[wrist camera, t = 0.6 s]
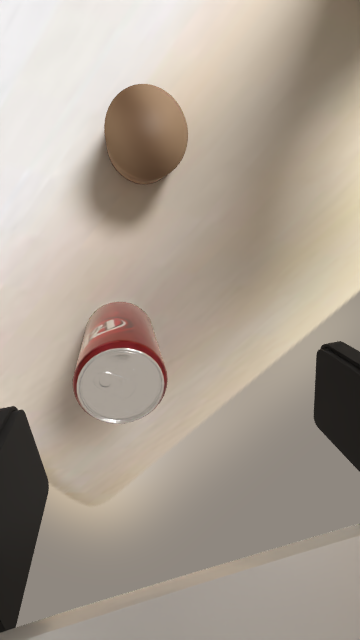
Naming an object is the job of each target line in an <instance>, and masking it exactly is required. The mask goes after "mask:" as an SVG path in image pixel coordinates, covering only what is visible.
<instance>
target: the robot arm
mask: <svg viewBox="0 0 360 640" xmlns="http://www.w3.org/2000/svg"><path fill="white" fill-rule="evenodd" d="M314 420H315V423H316V425H317V427H318V428H319V429H320V430H321V431H322V432H323V433H324V434H325V435H326V436H327V438H328V439H329V440H331V442H332V443H333V444H334V445H335V446H336V447H337V448H338V449H339V450H340V451H341V452H342V453H343V455H344V456H345V457H346V458H347V459H348V460H349V461H350V462H351V463H352V464H353V465H354V466H355V467H356V468H357V469H358V470H359V471H360V352H359V351H358V350H356V349H354V348H352V347H350V346H349V345H347V344H345V343H343V342H341V341H340V342H334V343H328V344H324V345H322V346H321V349H320V350H318V352H317V358H316V380H315V401H314ZM48 489H49V485H48V479H47V476H46V473H45V470H44V467H43V464H42V461H41V458H40V455H39V452H38V449H37V446H36V444H35V441H34V438H33V435H32V432H31V429H30V426H29V423H28V420H27V417H26V414H25V412H24V411H23V410H18V409H17V408H16V407H15V406H12V407H7V408H2V409H0V640H360V524H356V525H353V526H349V527H346V528H342V529H339V530H336V531H332V532H329V533H325V534H322V535H319V536H315V537H312V538H309V539H305V540H302V541H298V542H295V543H291V544H288V545H285V546H281V547H278V548H274V549H271V550H268V551H264V552H261V553H258V554H254V555H251V556H248V557H244V558H241V559H237V560H234V561H231V562H227V563H224V564H221V565H218V566H214V567H211V568H208V569H204V570H201V571H197V572H194V573H191V574H188V575H184V576H181V577H177V578H174V579H171V580H168V581H164V582H161V583H158V584H155V585H151V586H148V587H145V588H141V589H138V590H135V591H131V592H128V593H125V594H121V595H118V596H115V597H111V598H109V599H105V600H102V601H99V602H95V603H92V604H88V605H85V606H82V607H78V608H75V609H72V610H69V611H66V612H63V613H60V614H57V615H54V616H51V617H48V618H44V619H41V620H38V621H35V622H32V623H29V624H26V625H23V626H20V627H17V628H15V627H16V623H17V619H18V615H19V611H20V607H21V603H22V599H23V595H24V590H25V586H26V582H27V578H28V574H29V570H30V565H31V561H32V557H33V553H34V549H35V545H36V541H37V536H38V532H39V528H40V524H41V520H42V516H43V512H44V507H45V503H46V499H47V495H48Z"/></svg>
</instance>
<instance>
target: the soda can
mask: <svg viewBox="0 0 360 640" xmlns="http://www.w3.org/2000/svg"><path fill="white" fill-rule="evenodd" d="M166 388H167V371H166V368H165V365H164V361H163V358H162V355H161V352H160V349H159V346H158V342H157V339H156V336H155V333H154V330H153V326H152V324H151V321H150V319H149V317H148V316H147V314H146V313H145V312H144V311H143V310H142V309H140V308H139V307H138V306H135V305H133V304H131V303H127V302H113V303H109V304H106V305H104V306H102V307H100V308H99V309H98V310H96V311H95V312H94V313H93V315H92V316H91V317H90V319H89V321H88V323H87V326H86V330H85V334H84V338H83V342H82V345H81V349H80V353H79V357H78V361H77V365H76V368H75V372H74V377H73V391H74V395H75V397H76V399H77V401H78V403H79V405H80V406H81V407H82V408H83V410H84V411H85V412H87V413H88V414H89V415H90V416H92V417H94V418H96V419H98V420H101V421H104V422H107V423H114V424H121V423H128V422H133V421H135V420H138V419H140V418H142V417H144V416H146V415H147V414H149V413H150V412H151V411H153V410H154V409H155V408H156V407H157V405H158V404H159V403H160V402H161V400H162V398H163V396H164V394H165V391H166Z"/></svg>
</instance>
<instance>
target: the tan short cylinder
mask: <svg viewBox="0 0 360 640" xmlns="http://www.w3.org/2000/svg"><path fill="white" fill-rule="evenodd" d="M104 128H105V139H106V145H107V151H108V155H109V158H110V160H111V162H112V164H113V166H114V167H115V169H116V170H117V171H118V172H119V173H120V174H121V175H122V176H123V177H125V178H126V179H128V180H130V181H132V182H134V183H139V184H150V183H154V182H156V181H158V180H160V179H162V178H163V177H165V176H166V175H167V174H169V173H170V172H171V171H173V170H174V169H175V168H176V167H177V165H178V164H179V163H180V161H181V160H182V158H183V156H184V153H185V150H186V147H187V140H188V130H187V123H186V120H185V117H184V114H183V112H182V110H181V108H180V106H179V105H178V103H177V102H176V101H175V99H174V98H173V97H172V96H171V95H170V94H168V93H167V92H166V91H164V90H163V89H161V88H159V87H156V86H153V85H148V84H138V85H133V86H130V87H128V88H126V89H124V90H123V91H121V92H120V93H119V94H118V95H117V96H116V97H115V98H114V99H113V101H112V102H111V104H110V106H109V108H108V111H107V113H106V118H105V125H104Z"/></svg>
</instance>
